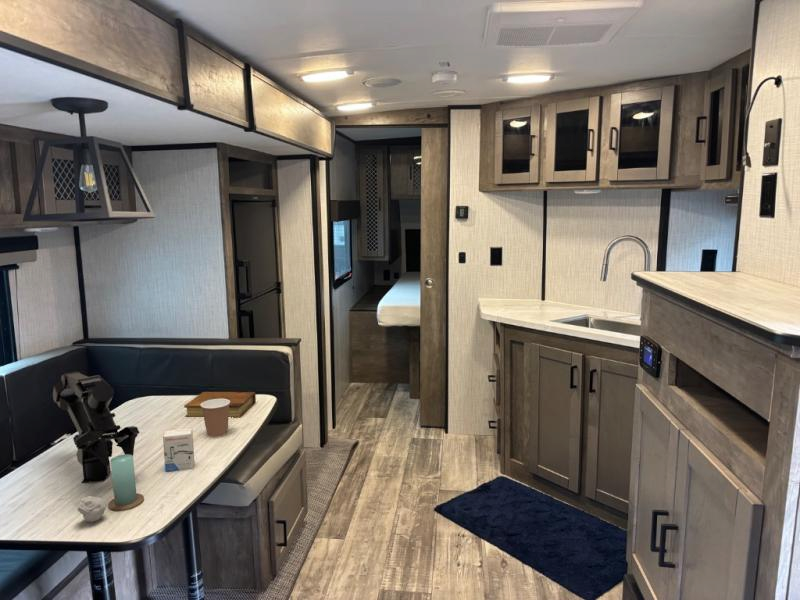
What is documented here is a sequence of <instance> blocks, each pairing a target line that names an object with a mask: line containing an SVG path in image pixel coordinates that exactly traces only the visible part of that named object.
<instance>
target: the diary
mask: <svg viewBox="0 0 800 600" xmlns="http://www.w3.org/2000/svg"><path fill="white" fill-rule="evenodd" d="M256 397H257V396H256V392H255V391H203V392H201V393H199V394H198V395H196V396H195V397H194V398H193V399H191V400H189V401H188V402H187V403H185V404H184V406H183V407H184V409H185V408H186V415H185V416H184V418H185V417H204V416H203V412H202V407H201V403H203V402H205V401H208V400H212V399H227V400H229V401H230V403H229V417H231V418H230V419H241V418H243V416H244V415H245V414H246V413H247V412H248V411H249V410H250V409H251V408H252V407H253V406H254V405H255V404H256V403H257V401H256V400H257V398H256ZM232 417H233V418H232Z"/></svg>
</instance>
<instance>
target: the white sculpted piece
mask: <svg viewBox="0 0 800 600" xmlns="http://www.w3.org/2000/svg"><path fill="white" fill-rule="evenodd" d="M76 507H77V511H78V512H79V513H80V514H81V515H82V517H83V519H84V521H87V522H88V523H89V522H91V523H94V522H97V521H99V520H101V518H102V517H103V516H104V513H105V511H107V510H106V509H107V503H106V499H104V498H102V497H99V496H98V497H96V496H92V495H88V496H86V497H81V499H80V502H78V504H77V505H76Z"/></svg>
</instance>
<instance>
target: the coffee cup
mask: <svg viewBox="0 0 800 600" xmlns="http://www.w3.org/2000/svg"><path fill="white" fill-rule="evenodd" d="M229 403H230V401H229V400H227V399H212V400H208V401H205V402H203V403H201V407H202V412H203V416H204V418H203V421H204V425H205V430H206V434H207V436H208V438H212V437H217V438H221V436H222V437H224V436H226V435H228V430H229V418H228V417H229Z"/></svg>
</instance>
